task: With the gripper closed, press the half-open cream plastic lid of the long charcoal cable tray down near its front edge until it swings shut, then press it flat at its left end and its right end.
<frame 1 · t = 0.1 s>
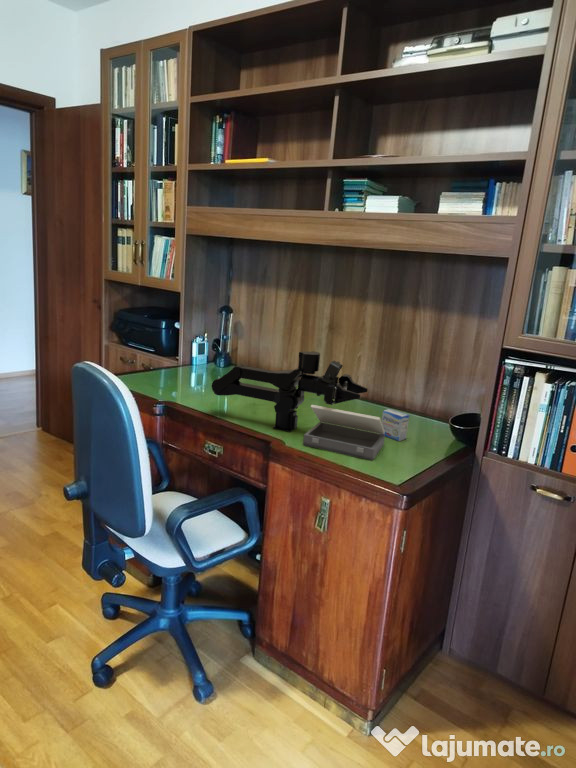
hand: (363, 393, 165), 17 cm above the table, tool horizontal, fingers open, 9 cm apart
medicine box: (392, 437, 177), on the table
tray lid: (348, 419, 166), point 8 cm above the table, hinge at 35.0°
cable tray: (343, 445, 166), on the table
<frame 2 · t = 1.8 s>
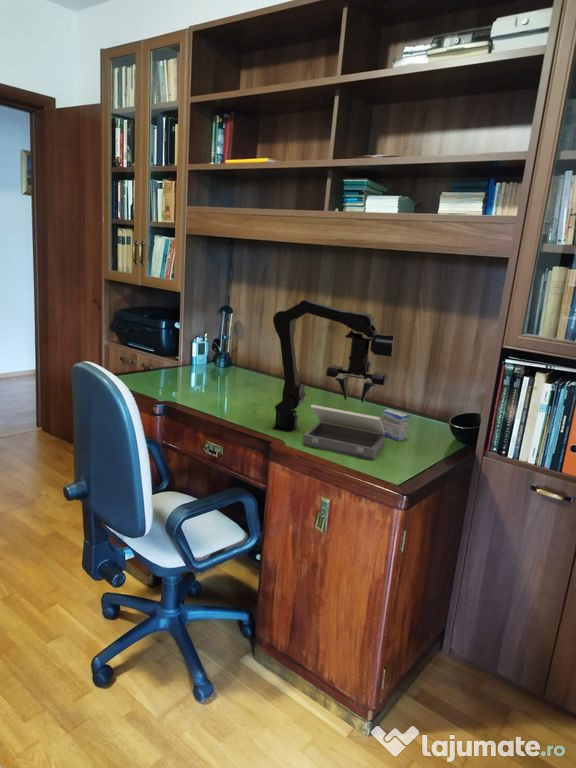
hand: (353, 400, 168), 13 cm above the table, tool pointing down, fingers open, 5 cm apart
nothing on the table moved.
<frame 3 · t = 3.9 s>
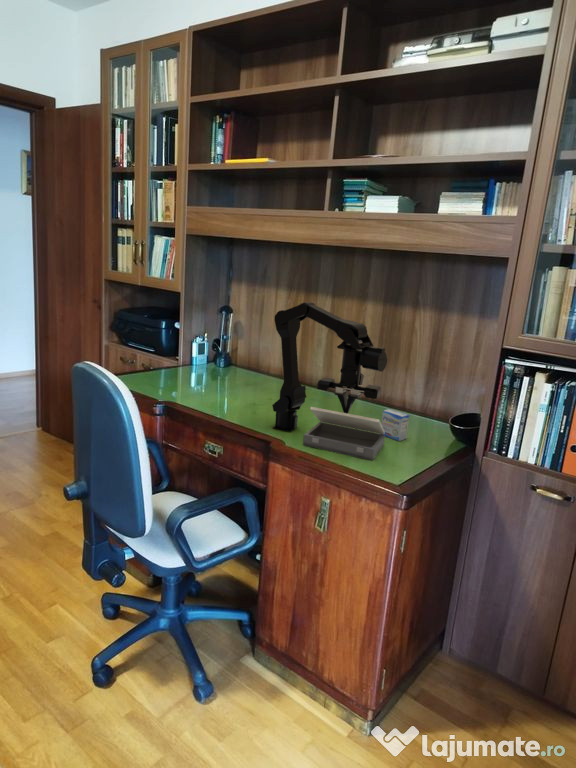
hand: (346, 414, 162), 10 cm above the table, tool pointing down, fingers closed, pressing on tray lid
tray lid: (348, 420, 166), point 8 cm above the table, hinge at 32.1°, touching gripper
everything else where it was.
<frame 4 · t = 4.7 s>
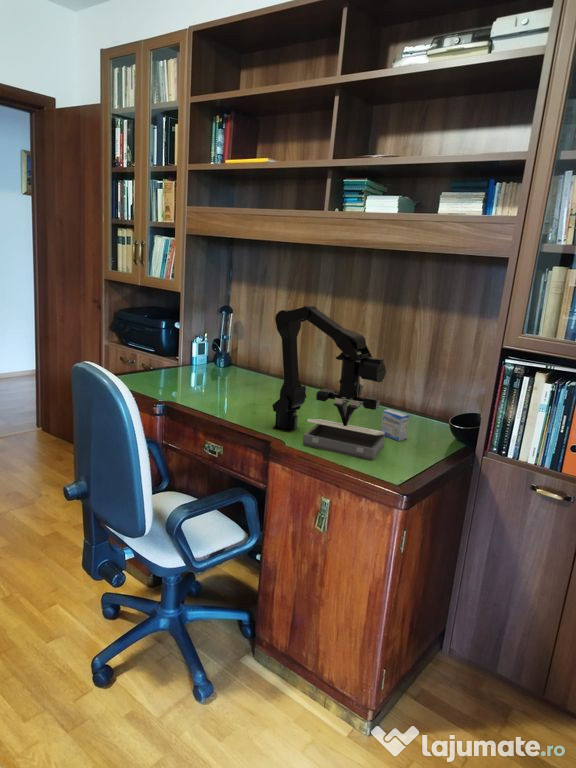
hand: (345, 425, 162), 7 cm above the table, tool pointing down, fingers closed, pressing on tray lid
tray lid: (346, 426, 165), point 6 cm above the table, hinge at 15.7°, touching gripper
everything else where it was.
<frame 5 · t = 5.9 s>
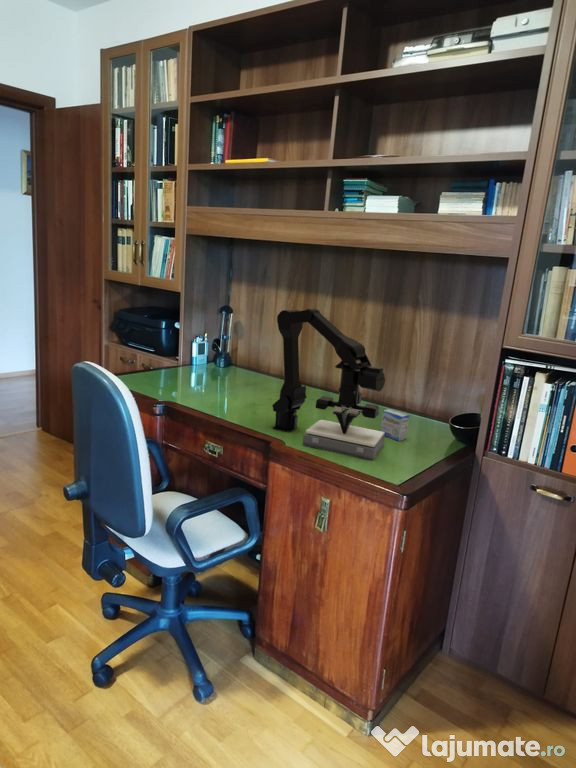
hand: (344, 433, 163), 5 cm above the table, tool pointing down, fingers closed, pressing on tray lid
tray lid: (345, 432, 165), point 4 cm above the table, hinge at 1.1°, touching gripper
everything else where it was.
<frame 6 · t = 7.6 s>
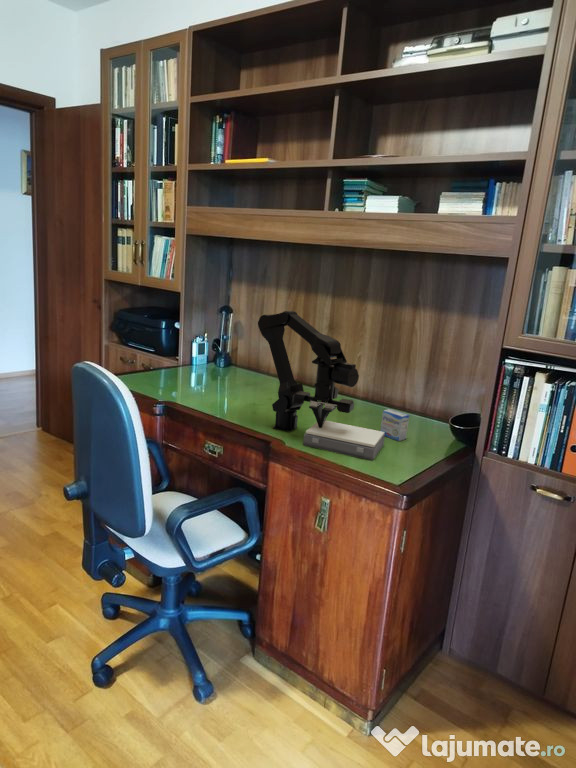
hand: (320, 427, 167), 4 cm above the table, tool pointing down, fingers closed, pressing on tray lid
tray lid: (345, 432, 165), point 4 cm above the table, hinge at 0.6°, touching gripper
everything else where it was.
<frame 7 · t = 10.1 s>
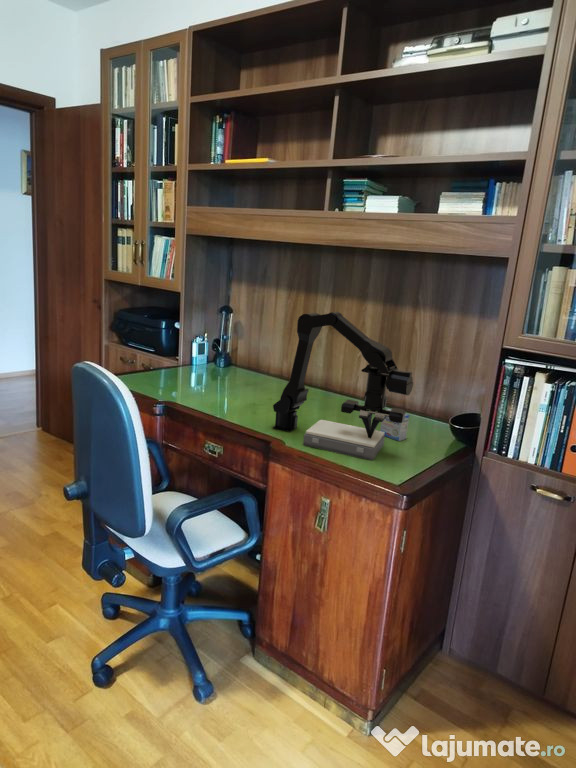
hand: (369, 437, 161), 4 cm above the table, tool pointing down, fingers closed, pressing on tray lid
tray lid: (345, 432, 165), point 4 cm above the table, hinge at 0.3°, touching gripper
everything else where it was.
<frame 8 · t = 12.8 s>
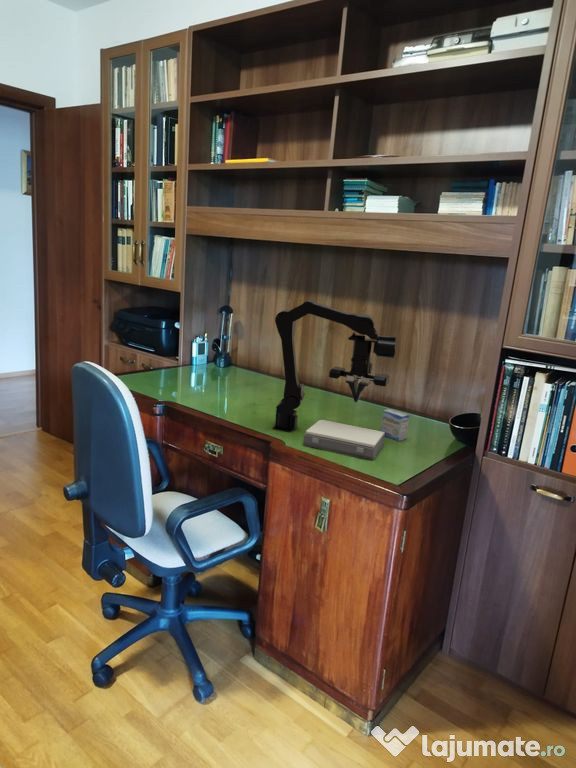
hand: (356, 401, 171), 12 cm above the table, tool pointing down, fingers closed
tray lid: (345, 432, 165), point 4 cm above the table, hinge at 0.3°
everything else where it was.
at the end: tray lid at +0° (first picture: +35°); medicine box moved 0.3 cm from its start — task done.
